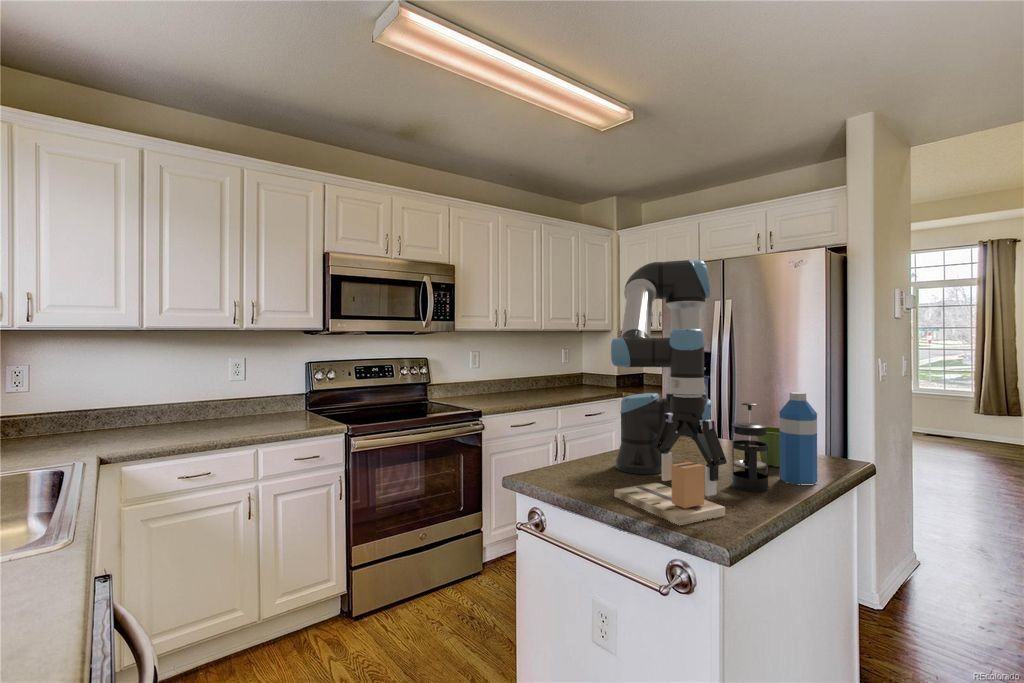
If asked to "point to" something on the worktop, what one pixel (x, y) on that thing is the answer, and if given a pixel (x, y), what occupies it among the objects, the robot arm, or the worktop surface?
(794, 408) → the water bottle
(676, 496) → the block
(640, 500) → the fader board
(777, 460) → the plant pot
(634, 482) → the worktop surface
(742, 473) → the french press
